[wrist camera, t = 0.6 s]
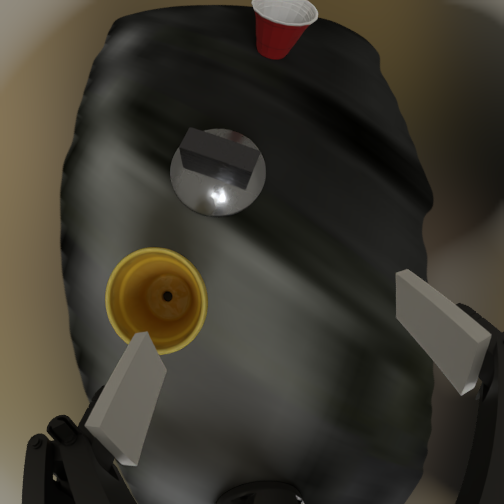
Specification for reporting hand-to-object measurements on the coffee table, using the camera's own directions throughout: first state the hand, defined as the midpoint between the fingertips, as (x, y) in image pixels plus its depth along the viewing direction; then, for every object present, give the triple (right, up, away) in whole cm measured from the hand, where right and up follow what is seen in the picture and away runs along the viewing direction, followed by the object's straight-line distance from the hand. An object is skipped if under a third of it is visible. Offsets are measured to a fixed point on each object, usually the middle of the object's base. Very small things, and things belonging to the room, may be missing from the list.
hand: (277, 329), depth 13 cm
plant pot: (-12, -2, +21) cm, 24 cm away
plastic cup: (+2, +41, +28) cm, 50 cm away
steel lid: (-6, +15, +24) cm, 29 cm away
